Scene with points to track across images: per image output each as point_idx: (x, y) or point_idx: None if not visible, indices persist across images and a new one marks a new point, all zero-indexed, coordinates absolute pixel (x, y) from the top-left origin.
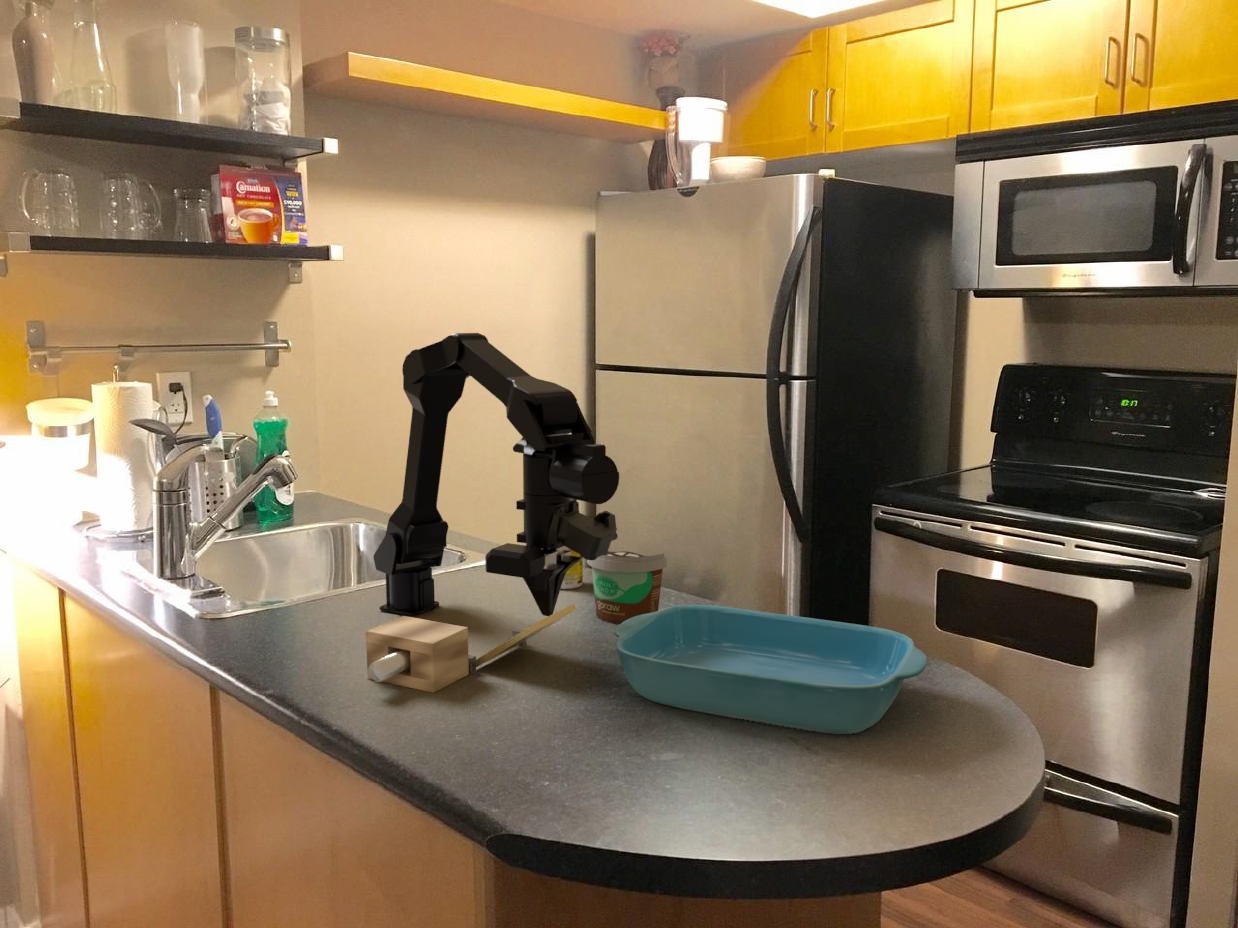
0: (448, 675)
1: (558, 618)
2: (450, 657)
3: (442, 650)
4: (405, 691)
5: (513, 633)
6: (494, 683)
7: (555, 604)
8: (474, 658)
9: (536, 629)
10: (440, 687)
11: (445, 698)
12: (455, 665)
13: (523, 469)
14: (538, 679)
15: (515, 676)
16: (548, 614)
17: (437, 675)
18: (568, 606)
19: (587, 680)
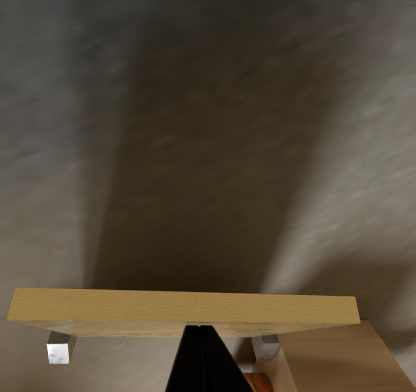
0: (336, 334)
1: (184, 292)
2: (348, 366)
3: (385, 389)
4: None
5: (70, 354)
6: (307, 264)
7: (179, 358)
8: (268, 340)
9: (345, 297)
10: None
11: (391, 295)
12: (321, 345)
13: None
14: (264, 200)
15: (259, 248)
16: (213, 331)
17: (373, 344)
18: (61, 319)
19: (237, 79)
